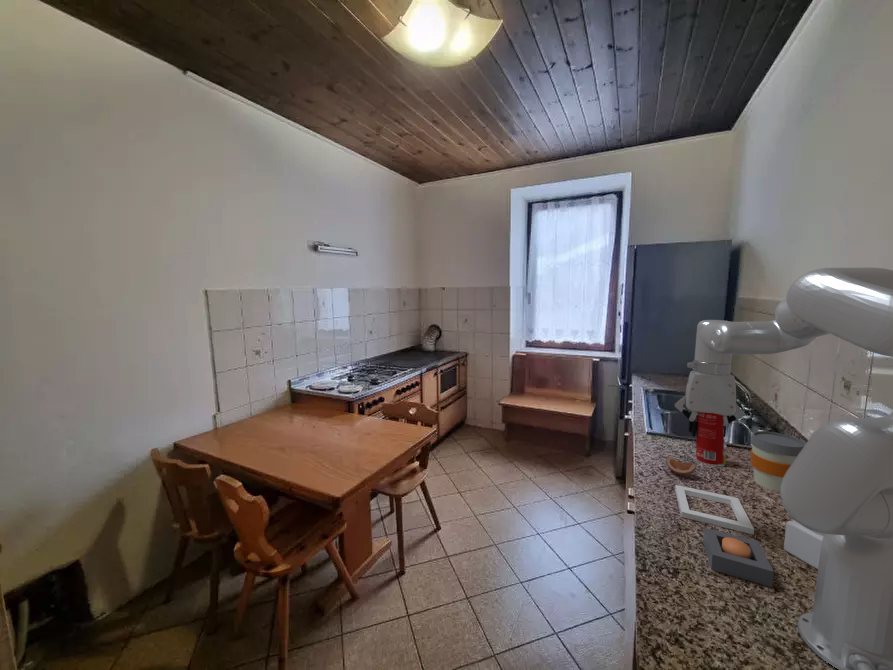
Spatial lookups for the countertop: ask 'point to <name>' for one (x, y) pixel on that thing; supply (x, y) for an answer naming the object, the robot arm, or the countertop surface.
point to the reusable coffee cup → (773, 457)
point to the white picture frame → (740, 525)
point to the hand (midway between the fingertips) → (705, 436)
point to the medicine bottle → (803, 543)
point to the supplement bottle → (724, 453)
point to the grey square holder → (738, 559)
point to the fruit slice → (680, 466)
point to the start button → (735, 547)
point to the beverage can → (710, 438)
